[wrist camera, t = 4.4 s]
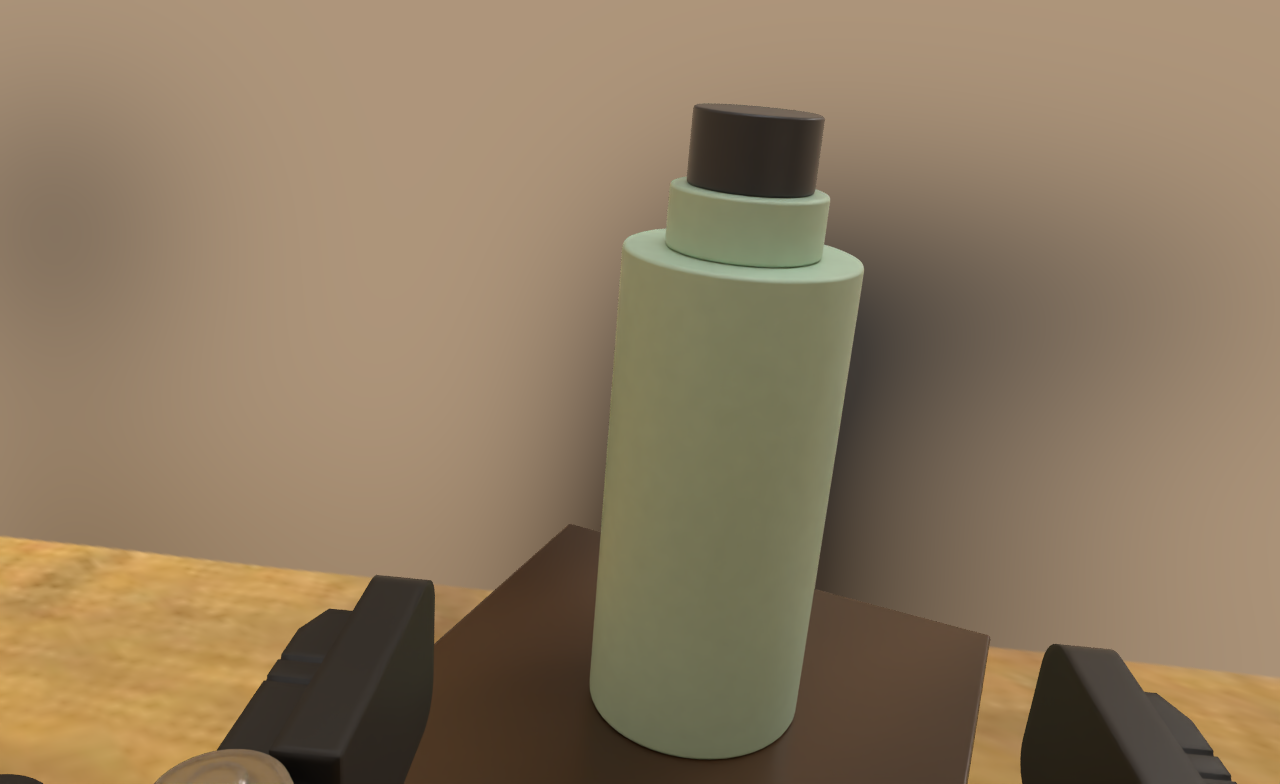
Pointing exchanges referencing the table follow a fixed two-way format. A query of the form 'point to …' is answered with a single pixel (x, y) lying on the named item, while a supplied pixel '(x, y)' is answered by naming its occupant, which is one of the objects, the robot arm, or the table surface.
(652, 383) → the bottle
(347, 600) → the table surface
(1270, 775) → the table surface
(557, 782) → the stand
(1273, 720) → the table surface
